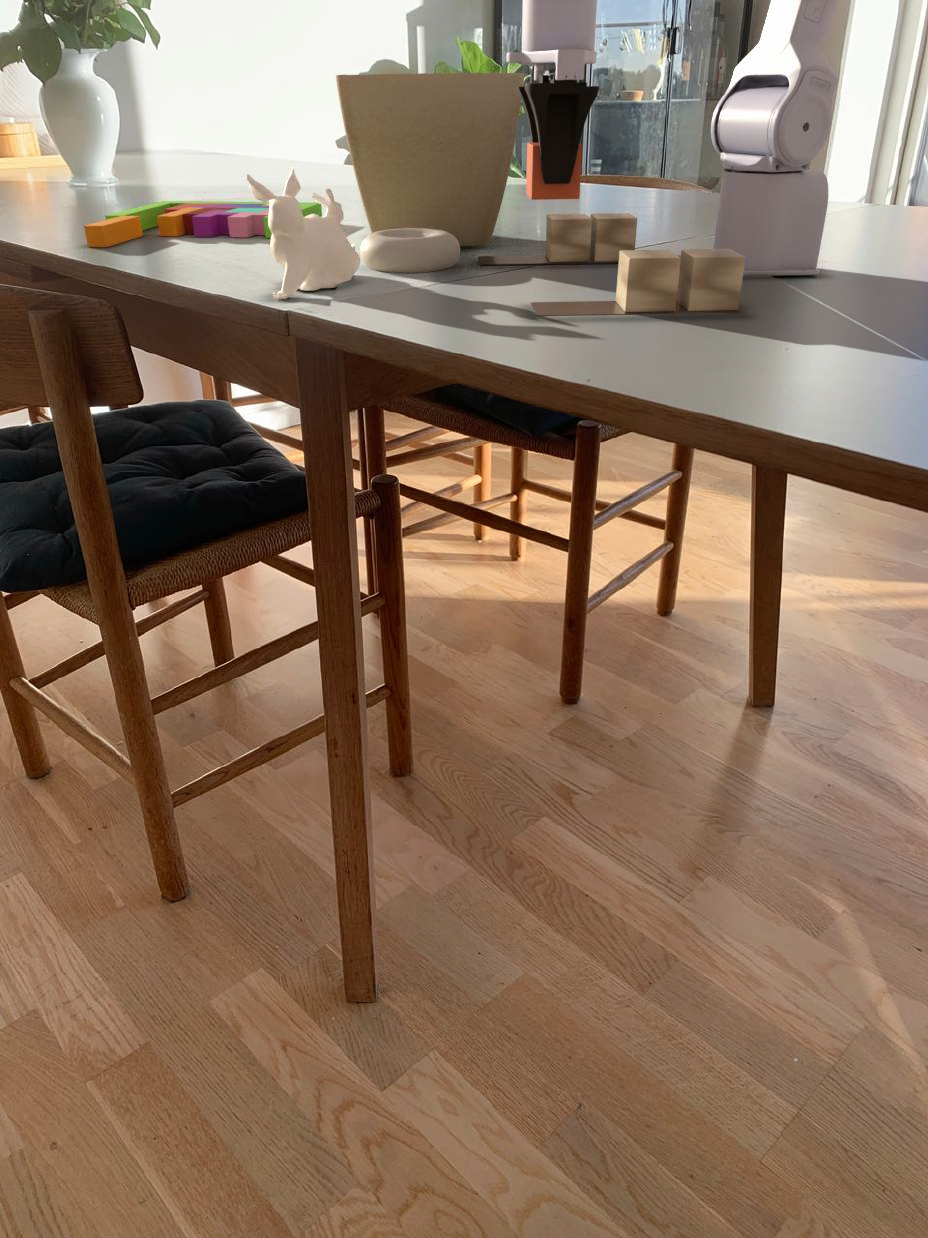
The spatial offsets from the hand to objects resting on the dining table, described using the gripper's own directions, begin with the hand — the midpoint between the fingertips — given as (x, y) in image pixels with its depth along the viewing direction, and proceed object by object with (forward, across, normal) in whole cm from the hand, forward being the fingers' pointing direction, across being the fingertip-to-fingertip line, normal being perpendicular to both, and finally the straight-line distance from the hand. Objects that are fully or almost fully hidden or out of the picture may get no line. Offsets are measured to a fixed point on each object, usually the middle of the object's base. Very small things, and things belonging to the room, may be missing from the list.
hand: (553, 180), depth 77 cm
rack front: (+9, +9, +6) cm, 14 cm away
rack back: (+9, -14, +3) cm, 17 cm away
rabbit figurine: (+9, -5, -22) cm, 24 cm away
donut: (+9, -12, -12) cm, 20 cm away
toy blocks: (+9, -41, -38) cm, 56 cm away
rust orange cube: (+1, 0, 0) cm, 1 cm away
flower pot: (+9, -30, -10) cm, 33 cm away
